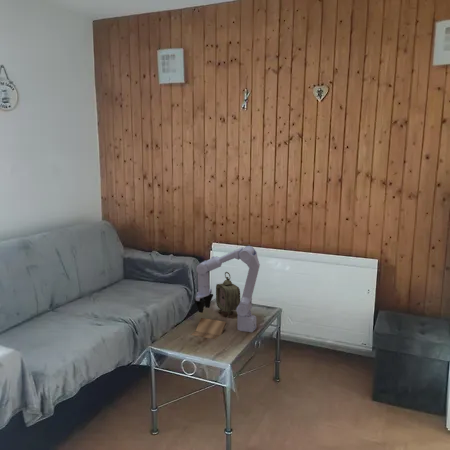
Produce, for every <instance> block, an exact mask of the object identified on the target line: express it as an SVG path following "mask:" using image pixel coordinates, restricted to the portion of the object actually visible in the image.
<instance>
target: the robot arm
mask: <svg viewBox="0 0 450 450" xmlns="http://www.w3.org/2000/svg"><path fill="white" fill-rule="evenodd" d="M233 259H236V260H237V261H238V260H241V261H242V263H244V264H246V266H247V267H248V272H247V277H246V279H245V285H244V289H243V293H242V295H241V297H240V304H239V305H238V306H237V309H236V310H235V311H236V314H237V319H236V321H237V323H236V324H237V331H240V332H246V333H248V332H249V333H253V332H254V331H256V329H257V316H256V315H255V314H254V315H253V314H252V311H251V309H252V308H253V302H252V300H253V298H252V297H253V294H254V289H255V286H256V283H257V278H258V275H259V270H260V266H261V264H260V260H259V257H258V252H257V250H256V249H255V248H254V247H253V246H252V245H246V246H245V247H239V248H237V249H234V250H233V251H230V252H228V253H227V254H224V255H222V256H220V257H219V256H215V255H214V256H211V258H210V259H207V260H203V261H201V262H200V263H199V264H197V265H196V269H195V271H196V273H197V292H196V296H195V298H194V299H193V301H194V302H195V304H196V307H197V310H198V313H203V312H204V306H205V308H207V309H210V306H211V301H212V298H213V297H214V294H213V292H212V289H211V288H210V276H209V274H210V273H209V272H212V271H213V270H217V269H218V268H220V267H222V265H223V264H224V263H226V262H229V261H232V260H233Z"/></svg>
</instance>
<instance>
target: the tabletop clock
mask: <svg viewBox="0 0 450 450" xmlns="http://www.w3.org/2000/svg"><path fill="white" fill-rule="evenodd" d="M226 274H228V276H227V275H226ZM224 278H225V280H223V282H222V283H216V286H215V299H216V300H215V301H216V306H217V308H218V309H219V310H218V313H222V312H224V313H226V312H227V315H226V319H230V315H233V313H234V311H236V309H237V306H238V305H239V304H240V301H241V290H240V287H239V286H237V285H236V284H234V283H233V282H232V280H231V274H230V273H229V272H228V271H225V272H224Z"/></svg>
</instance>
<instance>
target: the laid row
mask: <svg viewBox="0 0 450 450" xmlns="http://www.w3.org/2000/svg"><path fill="white" fill-rule="evenodd" d="M190 336H195V337H201V338H206V339H212V340H216V339H218V338H219V337H220V336H221V335H216V334H210V333H205V332H199V331H196V330H195V331H193V332H192V333H191V334H190Z"/></svg>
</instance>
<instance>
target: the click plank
mask: <svg viewBox="0 0 450 450" xmlns="http://www.w3.org/2000/svg"><path fill="white" fill-rule="evenodd" d="M226 324H227V322H226V321H222V320H216V319H211V318H204V317H201V318H200V319H199V323H198V324H197V326H196V329H195V331H198V332H204V333H209V334H215V335H220V336H221V335H222V334H223V333H224V330H225V327H226Z"/></svg>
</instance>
